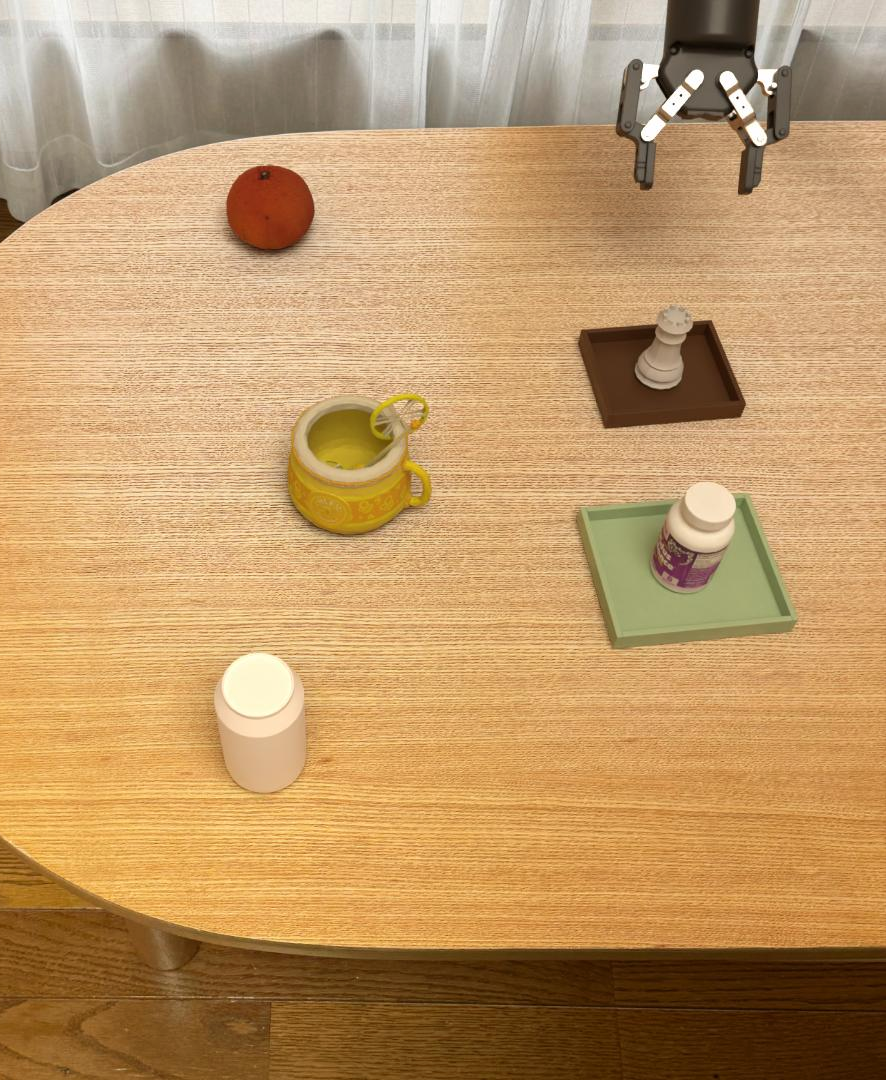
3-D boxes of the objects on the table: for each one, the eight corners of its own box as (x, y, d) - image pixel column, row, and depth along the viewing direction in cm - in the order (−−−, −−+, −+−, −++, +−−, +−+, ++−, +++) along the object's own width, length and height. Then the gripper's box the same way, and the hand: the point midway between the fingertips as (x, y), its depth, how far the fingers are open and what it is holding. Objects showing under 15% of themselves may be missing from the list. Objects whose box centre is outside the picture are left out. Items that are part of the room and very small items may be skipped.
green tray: (742, 505, 103) (748, 492, 102) (791, 631, 96) (798, 619, 94) (576, 520, 102) (579, 507, 101) (612, 649, 95) (617, 637, 93)
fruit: (219, 258, 121) (212, 194, 114) (242, 203, 126) (237, 140, 119) (302, 272, 120) (301, 208, 113) (322, 216, 125) (322, 153, 118)
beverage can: (314, 789, 87) (311, 716, 78) (231, 805, 87) (218, 733, 77) (299, 715, 91) (294, 636, 81) (219, 730, 90) (205, 652, 80)
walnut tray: (706, 333, 116) (711, 319, 114) (740, 417, 109) (746, 403, 108) (577, 343, 115) (581, 329, 113) (604, 428, 108) (608, 415, 107)
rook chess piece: (660, 400, 110) (680, 338, 103) (623, 373, 112) (641, 311, 105) (690, 377, 112) (712, 315, 105) (654, 351, 113) (674, 289, 107)
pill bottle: (636, 555, 100) (662, 485, 92) (689, 535, 101) (719, 465, 93) (670, 605, 97) (700, 537, 89) (725, 584, 98) (759, 515, 90)
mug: (268, 523, 101) (261, 432, 92) (314, 433, 107) (312, 339, 98) (408, 566, 99) (416, 478, 89) (447, 472, 105) (459, 379, 95)
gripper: (638, -25, 95) (621, 182, 98) (815, -18, 95) (793, 190, 98) (620, 2, 103) (605, 193, 105) (784, 8, 102) (764, 200, 105)
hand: (695, 191), depth 102 cm, fingers open, 8 cm apart
